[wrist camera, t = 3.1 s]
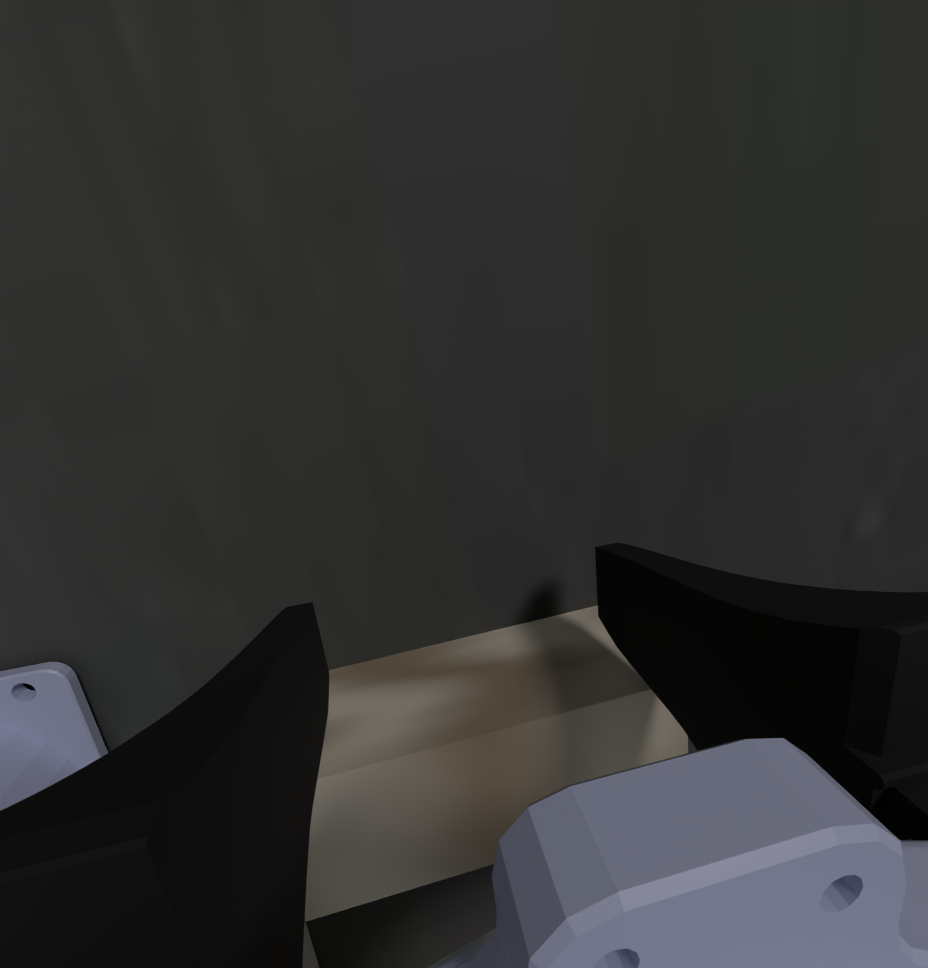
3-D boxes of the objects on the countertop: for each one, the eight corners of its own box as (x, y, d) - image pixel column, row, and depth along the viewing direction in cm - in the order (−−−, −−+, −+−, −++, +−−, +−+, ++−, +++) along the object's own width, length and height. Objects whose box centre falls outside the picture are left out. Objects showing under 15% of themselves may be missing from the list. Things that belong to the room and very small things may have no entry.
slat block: (322, 779, 15) (306, 921, 12) (290, 675, 14) (260, 794, 10) (616, 700, 17) (689, 804, 13) (609, 598, 15) (687, 679, 12)
